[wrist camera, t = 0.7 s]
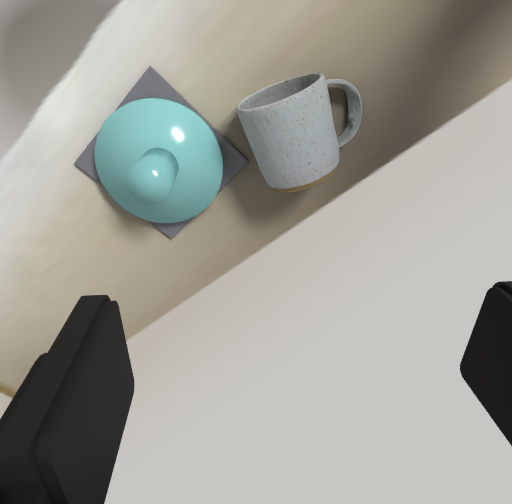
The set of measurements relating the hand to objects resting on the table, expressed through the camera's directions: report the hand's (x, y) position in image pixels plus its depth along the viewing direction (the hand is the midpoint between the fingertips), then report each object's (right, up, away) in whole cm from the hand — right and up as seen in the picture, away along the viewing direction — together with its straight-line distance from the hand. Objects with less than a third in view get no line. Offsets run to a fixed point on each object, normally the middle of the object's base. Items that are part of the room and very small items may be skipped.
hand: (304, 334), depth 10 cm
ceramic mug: (+3, +15, +26) cm, 30 cm away
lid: (-10, +11, +27) cm, 31 cm away
